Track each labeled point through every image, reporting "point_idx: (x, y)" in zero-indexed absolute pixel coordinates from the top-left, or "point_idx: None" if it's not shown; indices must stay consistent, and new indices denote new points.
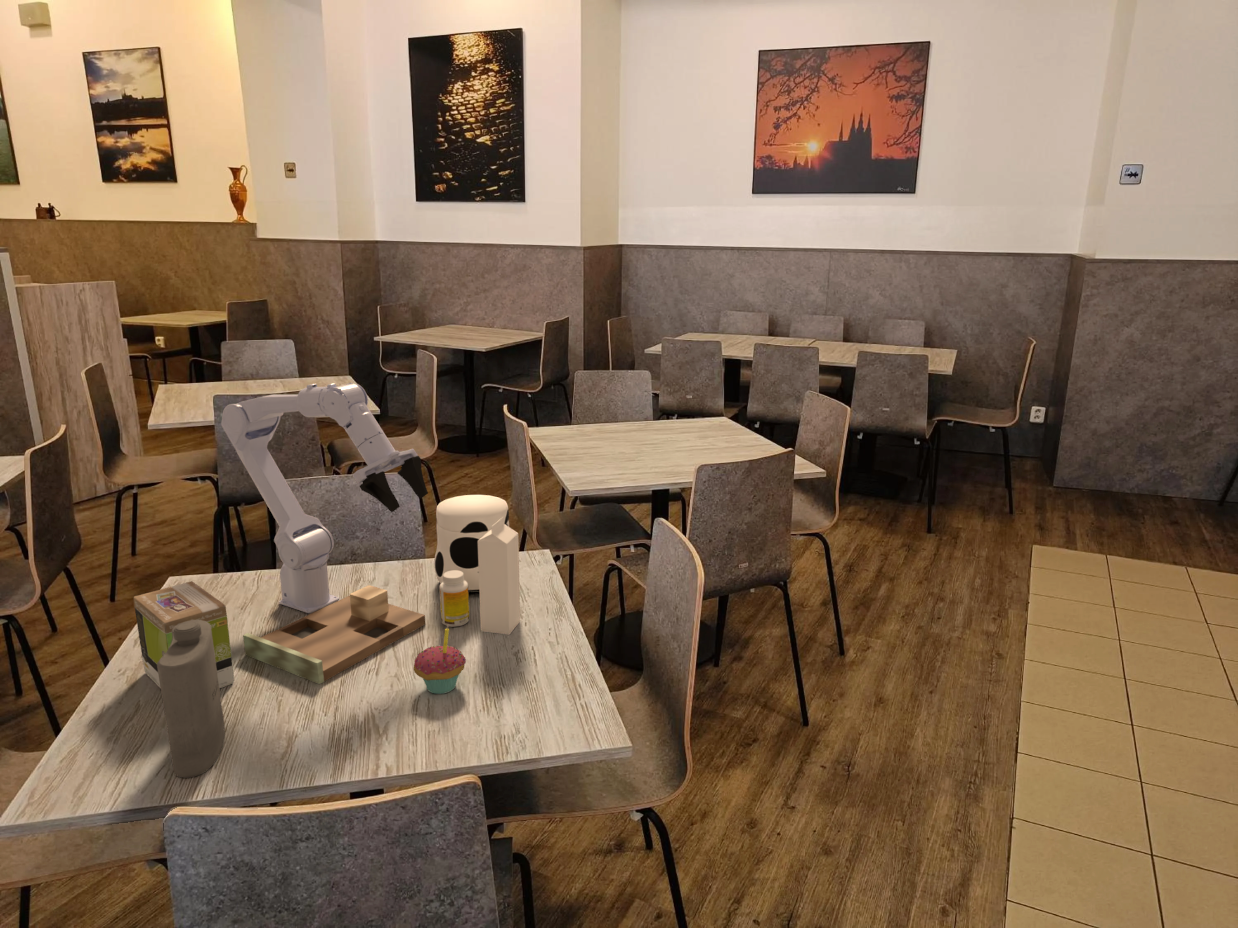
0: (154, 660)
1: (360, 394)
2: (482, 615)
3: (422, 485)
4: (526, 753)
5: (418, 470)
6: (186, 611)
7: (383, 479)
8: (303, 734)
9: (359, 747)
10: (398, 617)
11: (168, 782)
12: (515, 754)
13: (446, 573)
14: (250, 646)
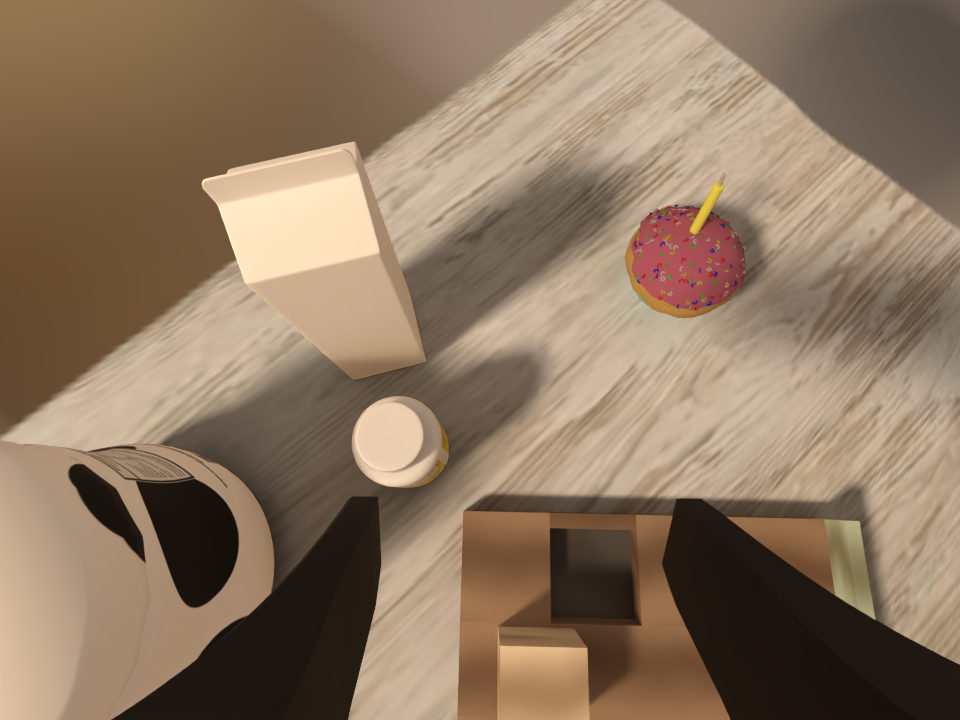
0: None
1: None
2: (420, 344)
3: (360, 534)
4: (725, 55)
5: (269, 649)
6: None
7: (931, 695)
8: (945, 393)
9: (895, 276)
10: (512, 568)
11: None
12: (738, 66)
13: (396, 459)
14: None
